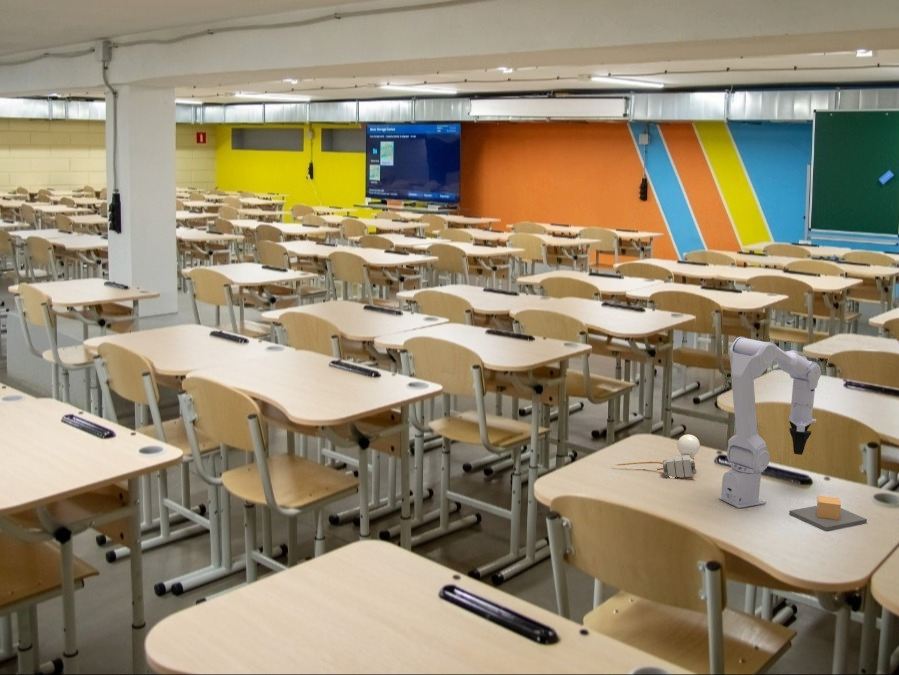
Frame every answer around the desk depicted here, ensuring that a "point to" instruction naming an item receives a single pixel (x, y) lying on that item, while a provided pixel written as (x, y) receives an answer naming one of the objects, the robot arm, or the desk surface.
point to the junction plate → (825, 523)
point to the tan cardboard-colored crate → (828, 507)
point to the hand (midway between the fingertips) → (797, 450)
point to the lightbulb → (688, 445)
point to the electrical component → (675, 466)
